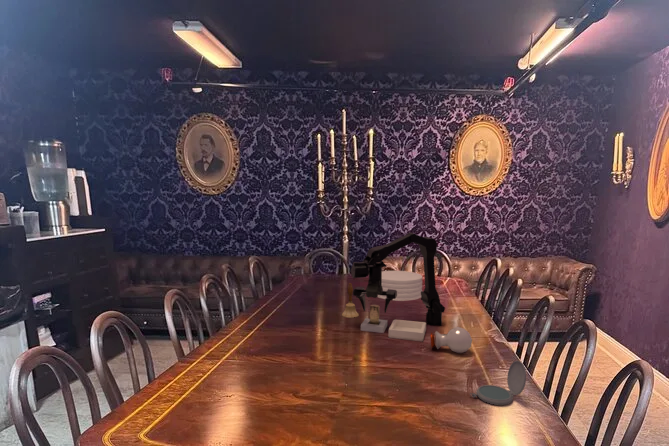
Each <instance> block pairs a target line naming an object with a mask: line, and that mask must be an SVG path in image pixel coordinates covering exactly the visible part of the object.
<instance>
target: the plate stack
mask: <svg viewBox="0 0 669 446" xmlns="http://www.w3.org/2000/svg"><path fill="white" fill-rule="evenodd" d="M382 288H383V291H387V290H388V289H393V290H396V291H397V297H396V298H395V299H393V300H392V301H394V302H395V301H399V302H400V301H401V302H402V301H404V302H405V301H414V300H419V299H421V291H423V275H422V274H420V273H417V272H413V271H408V270H406V271H405V270H382ZM377 298H379V299H383V300H385V299H386V296H384V295H378V297H377Z"/></svg>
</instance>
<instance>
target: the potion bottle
mask: <svg viewBox="0 0 669 446" xmlns="http://www.w3.org/2000/svg"><path fill="white" fill-rule="evenodd" d="M429 336H430V346H431V348H432V349H434V348H436V349H437V350H439V349H440V348H441V347H448V348H449V349H450V350H451V351H452V352H454V353H457V354H462V353H466V352H468V350H470V349H471V347H472V342H473V338H472V336H471V334H470V332H469V331H468V330H467V329H465V328H463V327H460V326H456V327H453V328H451V329H450V330H448V332H447V333H440V332H439V331H437V330H435V332H434V333H433V332H432V331H431V332H430V335H429Z"/></svg>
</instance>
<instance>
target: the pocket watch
mask: <svg viewBox="0 0 669 446" xmlns="http://www.w3.org/2000/svg"><path fill="white" fill-rule="evenodd" d="M506 377H507V380H506V381H507V386H508V389H506V388H504V387H501V386H500V385H499V386H498V385H491V384H485V385H480V386H479V387H478V388H477V389H476V392H475V393H473V392H471V393H469V396H470V397H472V398H476V397H478V398H479V400H481V401H483V402H485V403H486V402H487V404H489V403H490V405H493V404H494V406H506V405H509V404H511V403H512V402H513V398H514V397H515V396H518V395H520V394H521V393H522V392H523V390H524V389H525V386H526V382H527V371H526V367H525V365H524V364H523V363H522V362H521V361H520V360H515V361H513V362H512V363H511V365H510V366H509V368H508V372H507V376H506Z"/></svg>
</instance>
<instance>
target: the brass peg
mask: <svg viewBox="0 0 669 446" xmlns="http://www.w3.org/2000/svg"><path fill="white" fill-rule="evenodd" d="M369 319H370V324H374V325H379V319H380V305H379V304H371V305H369Z"/></svg>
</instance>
